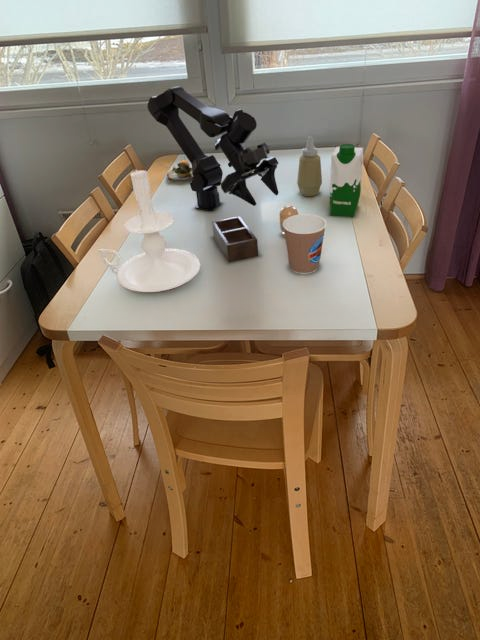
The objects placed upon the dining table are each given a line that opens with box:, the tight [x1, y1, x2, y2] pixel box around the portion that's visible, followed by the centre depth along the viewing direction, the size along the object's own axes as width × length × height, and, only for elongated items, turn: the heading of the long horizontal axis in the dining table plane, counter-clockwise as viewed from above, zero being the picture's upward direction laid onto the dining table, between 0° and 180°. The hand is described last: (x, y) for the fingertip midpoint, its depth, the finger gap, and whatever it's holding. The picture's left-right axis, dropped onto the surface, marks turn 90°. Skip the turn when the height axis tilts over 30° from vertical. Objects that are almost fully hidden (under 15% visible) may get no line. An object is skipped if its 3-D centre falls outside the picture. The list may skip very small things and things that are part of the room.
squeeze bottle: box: [296, 136, 323, 197], centre depth 150 cm, size 8×8×18 cm
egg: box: [278, 205, 299, 238], centre depth 130 cm, size 5×5×9 cm
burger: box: [166, 156, 194, 181], centre depth 174 cm, size 12×12×8 cm
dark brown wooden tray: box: [211, 215, 259, 263], centre depth 128 cm, size 8×16×5 cm, turn 17°
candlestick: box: [97, 169, 201, 293], centre depth 110 cm, size 21×25×28 cm
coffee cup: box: [283, 213, 328, 275], centre depth 114 cm, size 10×10×12 cm
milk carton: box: [329, 143, 364, 218], centre depth 137 cm, size 9×9×20 cm
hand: (266, 199), depth 132 cm, fingers open, 9 cm apart
